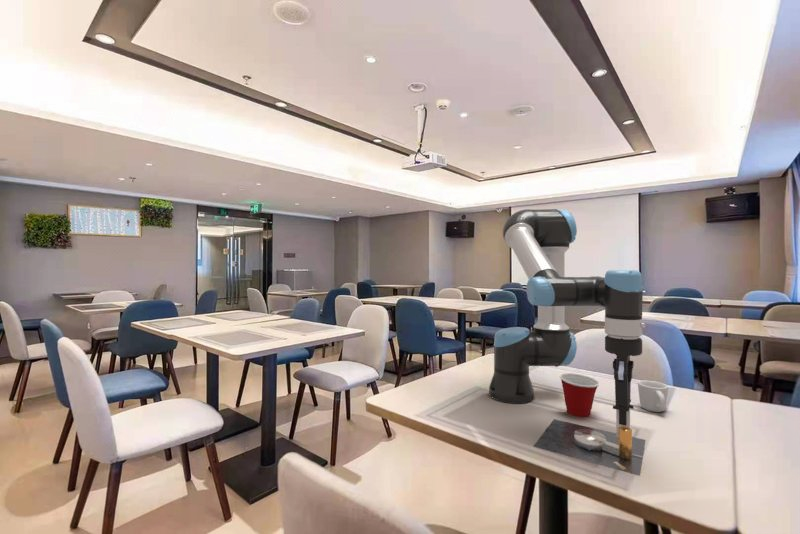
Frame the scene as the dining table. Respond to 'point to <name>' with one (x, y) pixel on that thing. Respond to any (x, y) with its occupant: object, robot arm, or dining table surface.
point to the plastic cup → (578, 393)
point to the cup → (652, 395)
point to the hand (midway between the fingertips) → (623, 436)
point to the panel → (562, 442)
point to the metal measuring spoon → (598, 441)
